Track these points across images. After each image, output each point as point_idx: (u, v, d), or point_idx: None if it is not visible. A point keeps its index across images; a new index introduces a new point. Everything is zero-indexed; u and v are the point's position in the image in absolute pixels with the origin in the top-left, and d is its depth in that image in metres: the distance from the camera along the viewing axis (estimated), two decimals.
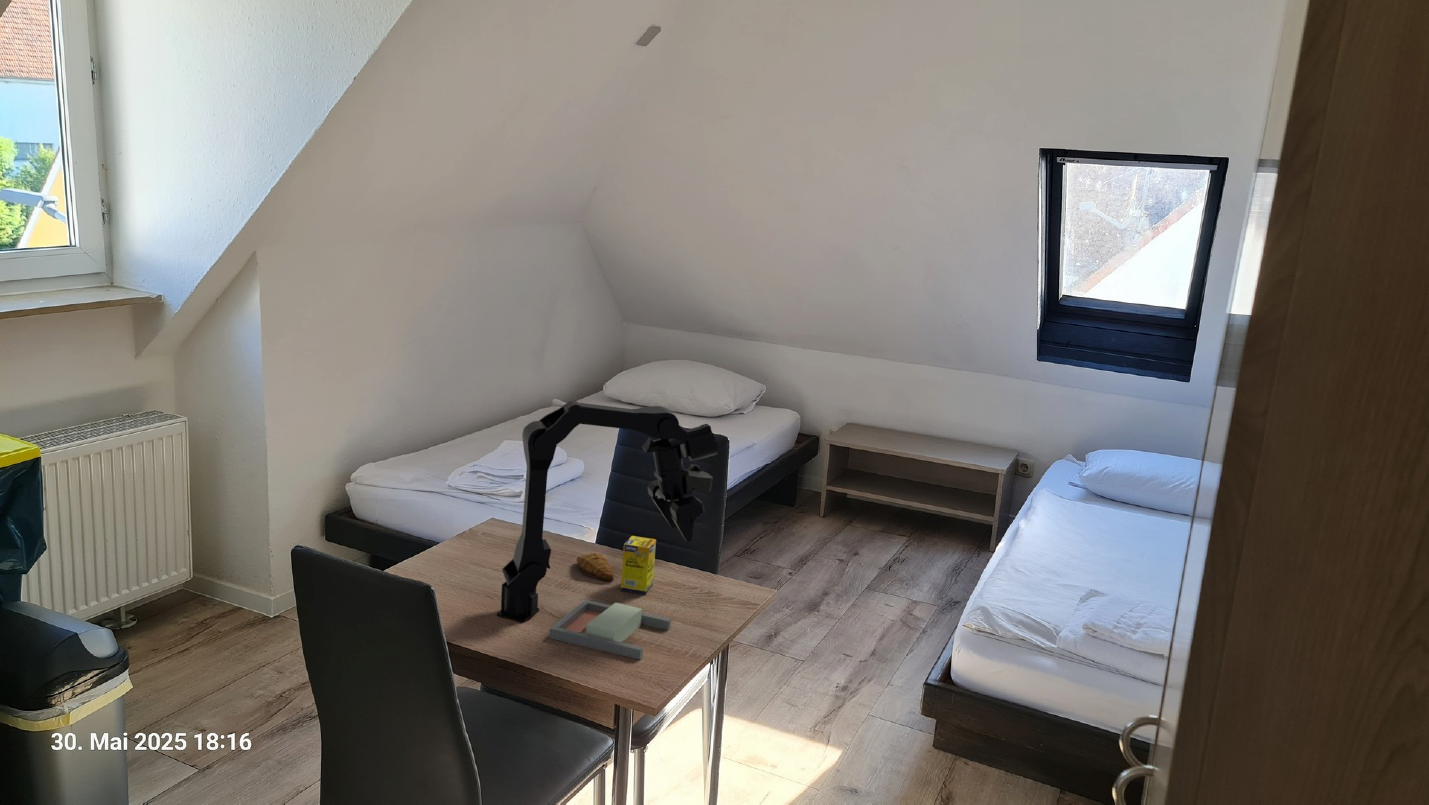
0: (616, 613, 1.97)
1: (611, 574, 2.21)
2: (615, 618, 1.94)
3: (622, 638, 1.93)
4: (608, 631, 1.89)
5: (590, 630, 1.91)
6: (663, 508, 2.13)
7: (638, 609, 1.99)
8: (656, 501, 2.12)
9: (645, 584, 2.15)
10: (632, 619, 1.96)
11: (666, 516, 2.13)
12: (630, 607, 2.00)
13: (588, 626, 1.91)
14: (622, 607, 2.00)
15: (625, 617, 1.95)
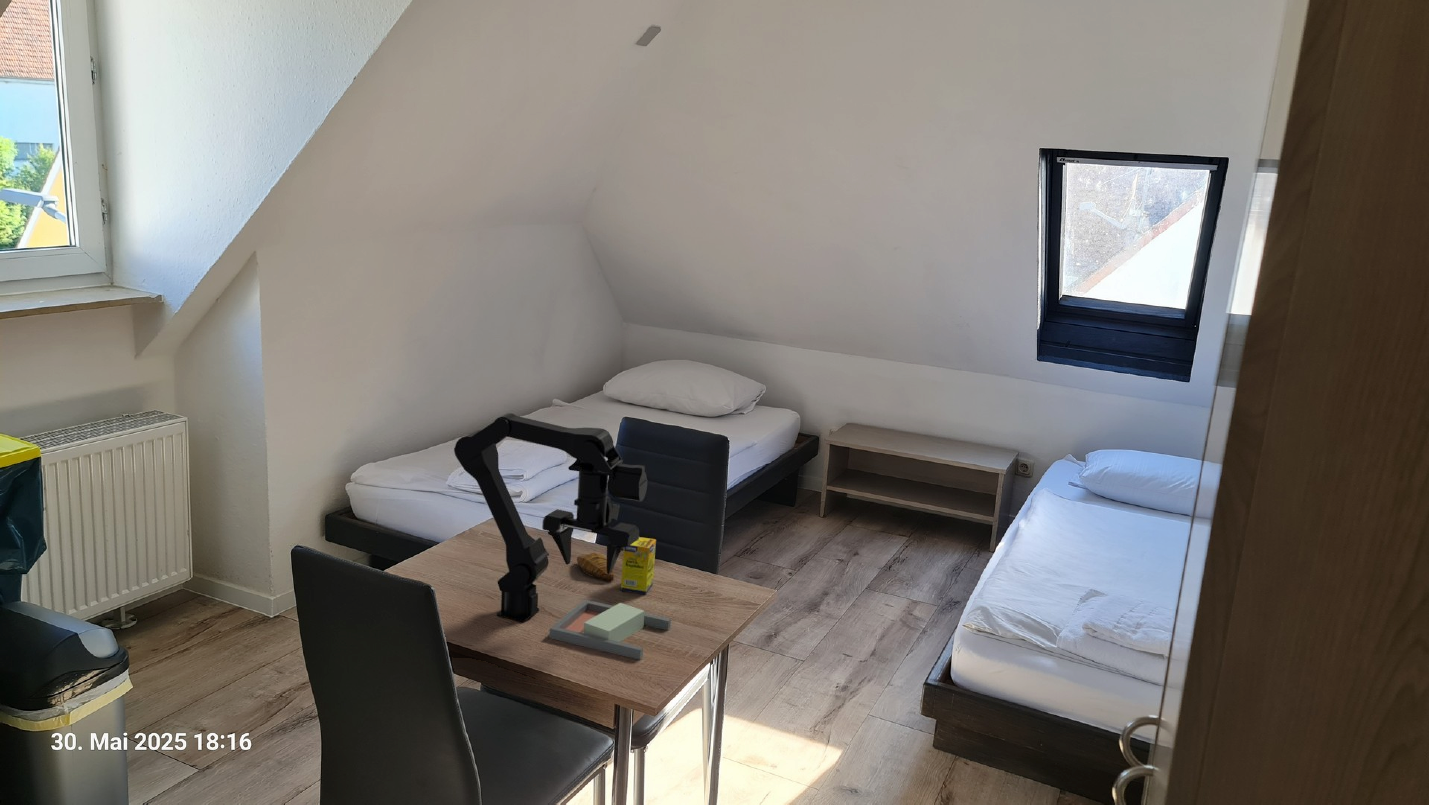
0: (617, 614, 1.97)
1: (611, 574, 2.21)
2: (614, 618, 1.94)
3: (619, 638, 1.93)
4: (603, 631, 1.89)
5: (587, 629, 1.91)
6: (564, 543, 1.95)
7: (640, 611, 1.99)
8: (560, 535, 1.94)
9: (645, 584, 2.15)
10: (632, 620, 1.95)
11: (565, 552, 1.96)
12: (634, 608, 2.00)
13: (585, 624, 1.91)
14: (625, 608, 1.99)
15: (625, 618, 1.95)
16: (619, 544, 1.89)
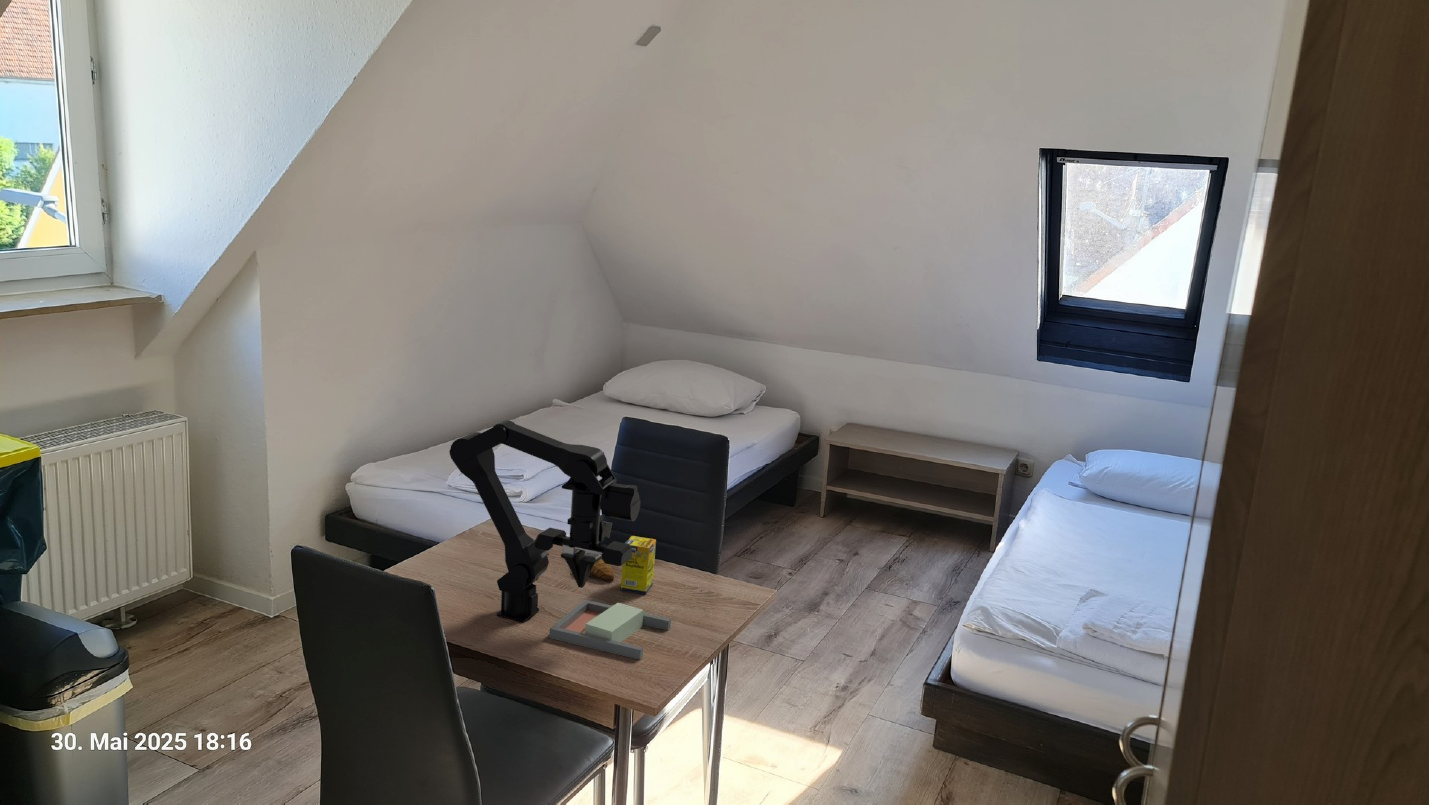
0: (617, 614, 1.97)
1: (611, 574, 2.21)
2: (615, 618, 1.94)
3: (621, 638, 1.93)
4: (606, 631, 1.89)
5: (588, 630, 1.91)
6: (577, 566, 1.94)
7: (639, 610, 1.99)
8: (573, 558, 1.93)
9: (645, 584, 2.15)
10: (632, 620, 1.96)
11: (578, 574, 1.95)
12: (632, 608, 2.00)
13: (587, 625, 1.91)
14: (624, 608, 1.99)
15: (625, 618, 1.95)
16: (612, 563, 1.90)
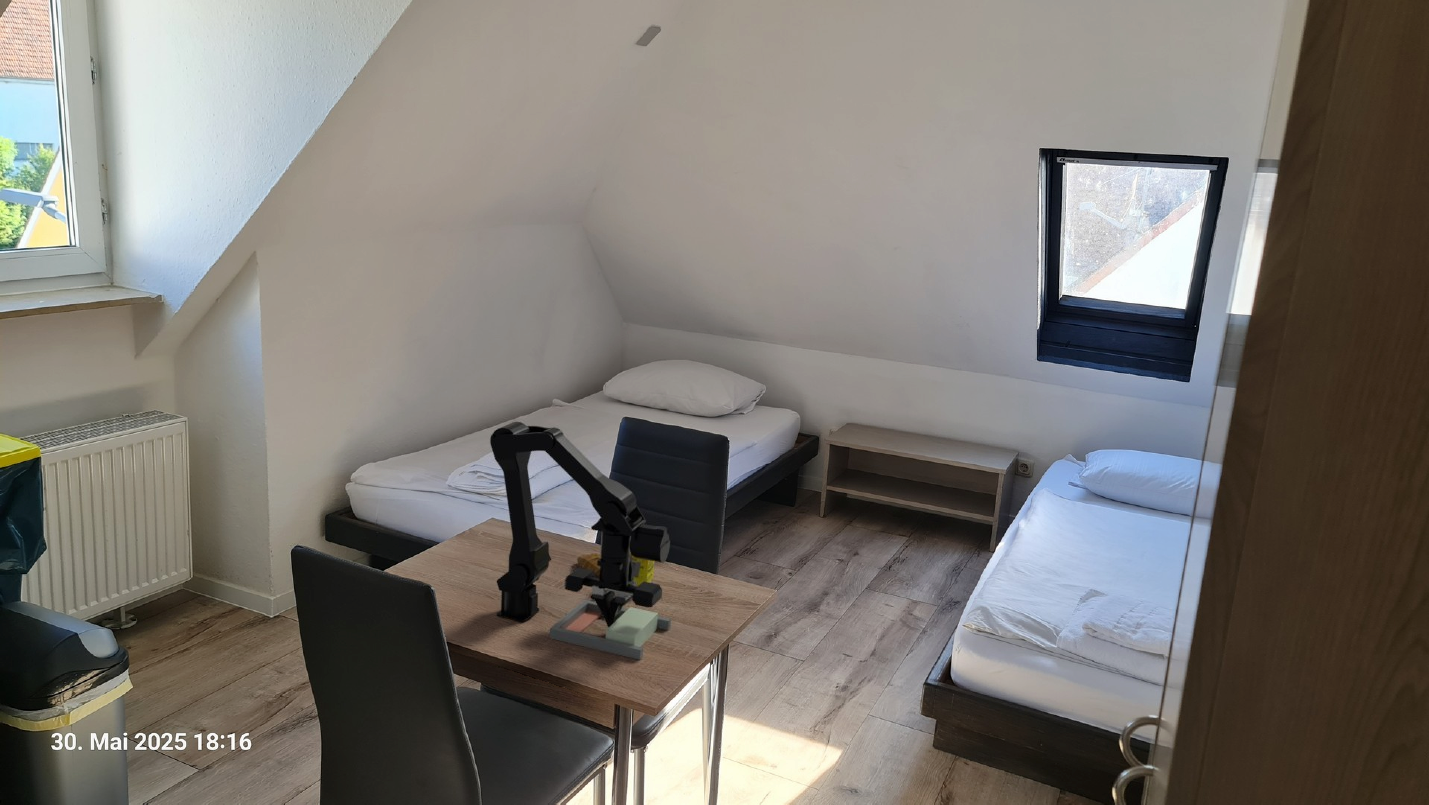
0: (633, 618, 1.95)
1: None
2: (633, 623, 1.93)
3: (641, 643, 1.92)
4: (628, 637, 1.88)
5: (609, 636, 1.89)
6: (607, 607, 1.94)
7: (654, 613, 1.98)
8: (603, 600, 1.92)
9: None
10: (650, 624, 1.95)
11: (608, 615, 1.94)
12: (646, 611, 1.99)
13: (607, 632, 1.89)
14: (638, 612, 1.98)
15: (643, 622, 1.94)
16: (643, 604, 1.89)
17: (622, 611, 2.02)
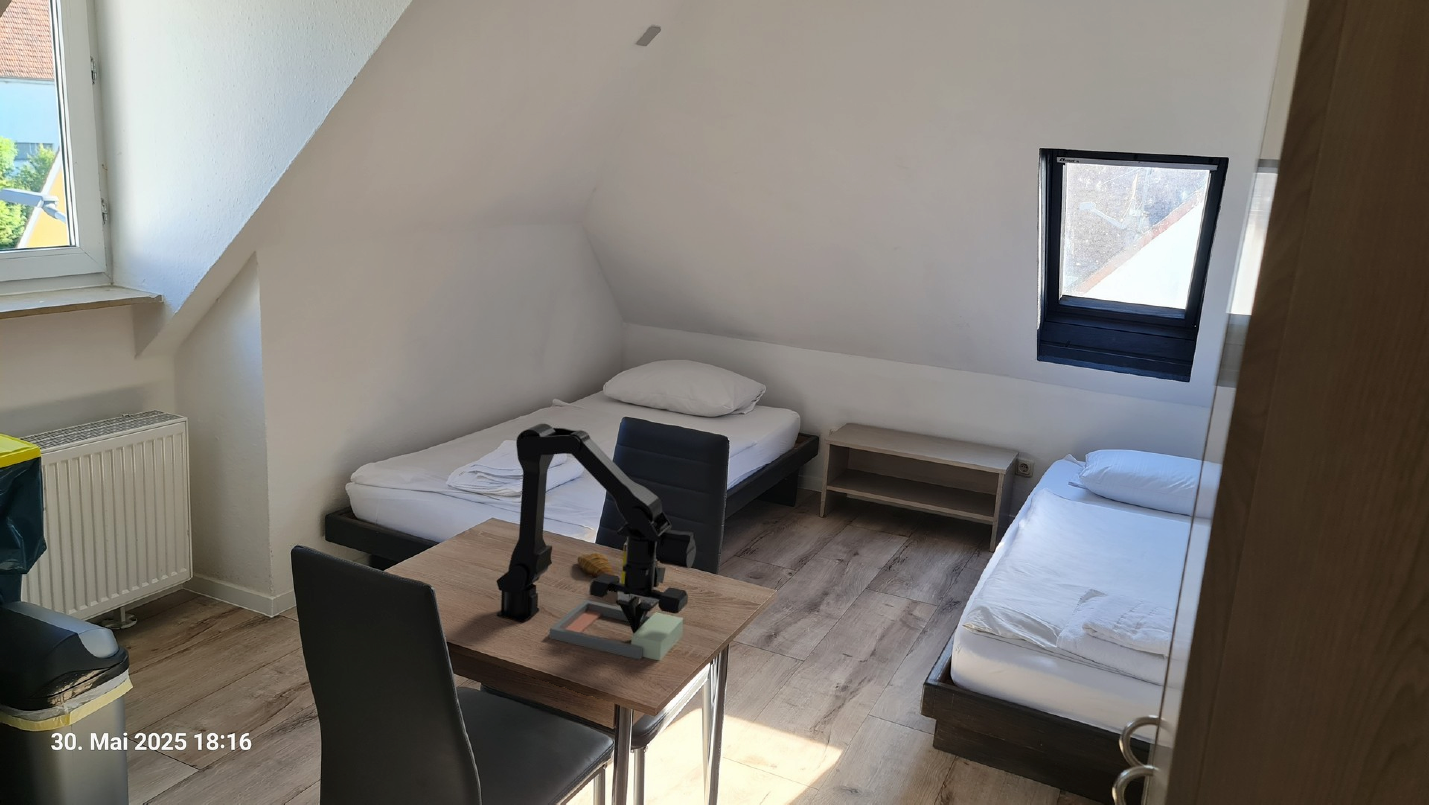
0: (659, 624, 1.94)
1: (612, 574, 2.21)
2: (659, 629, 1.91)
3: (667, 649, 1.90)
4: (654, 642, 1.86)
5: (635, 642, 1.88)
6: (632, 612, 1.92)
7: (680, 618, 1.97)
8: (629, 605, 1.91)
9: None
10: (675, 629, 1.93)
11: (633, 621, 1.93)
12: (672, 617, 1.97)
13: (633, 637, 1.88)
14: (663, 617, 1.97)
15: (669, 627, 1.92)
16: (669, 610, 1.87)
17: (622, 611, 2.02)
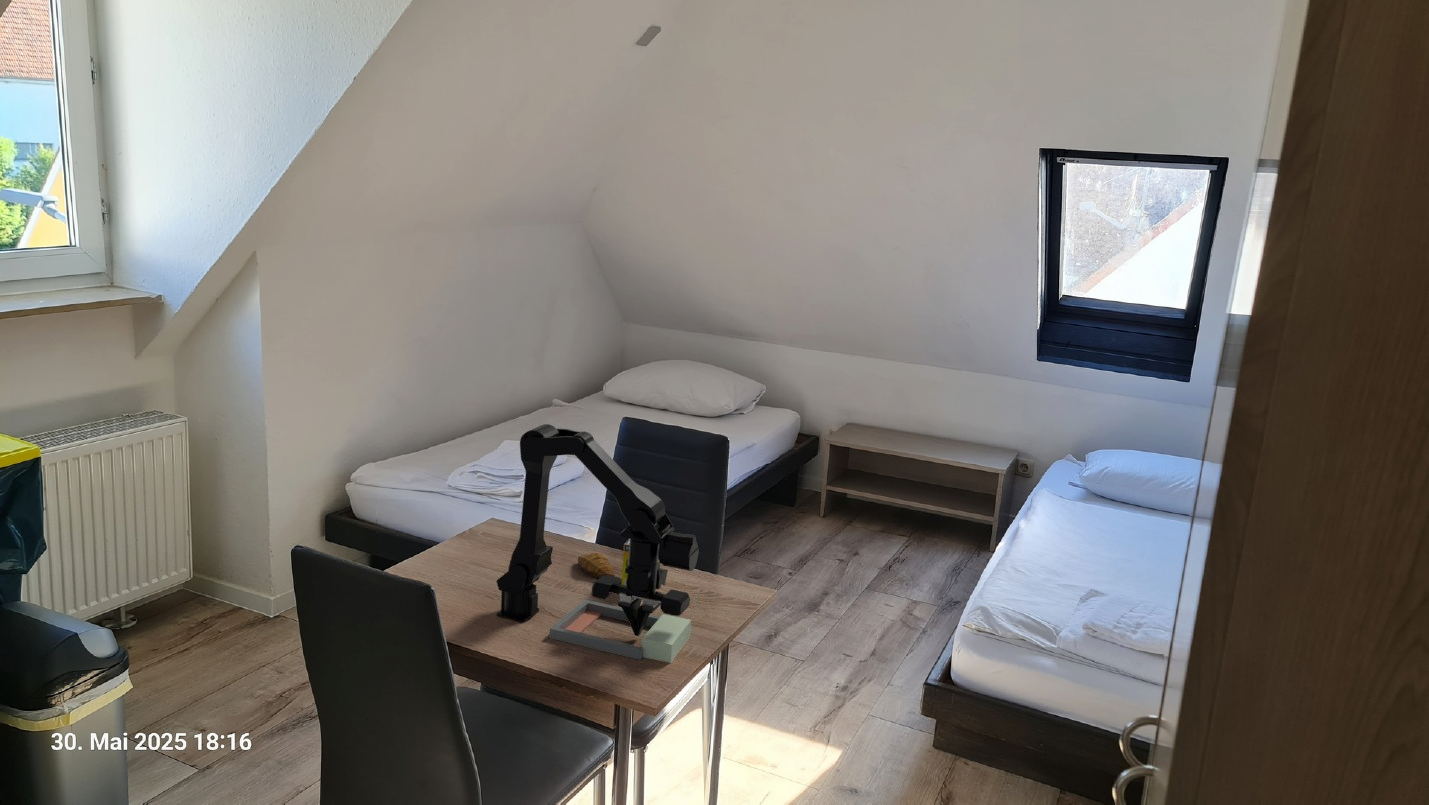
0: (668, 626, 1.93)
1: (612, 574, 2.21)
2: (668, 631, 1.91)
3: (677, 651, 1.90)
4: (665, 645, 1.86)
5: (645, 644, 1.87)
6: (634, 614, 1.92)
7: (688, 620, 1.96)
8: (630, 607, 1.91)
9: None
10: (684, 631, 1.93)
11: (635, 623, 1.93)
12: (679, 618, 1.97)
13: (644, 640, 1.87)
14: (671, 619, 1.96)
15: (678, 629, 1.92)
16: (671, 613, 1.87)
17: (622, 611, 2.02)
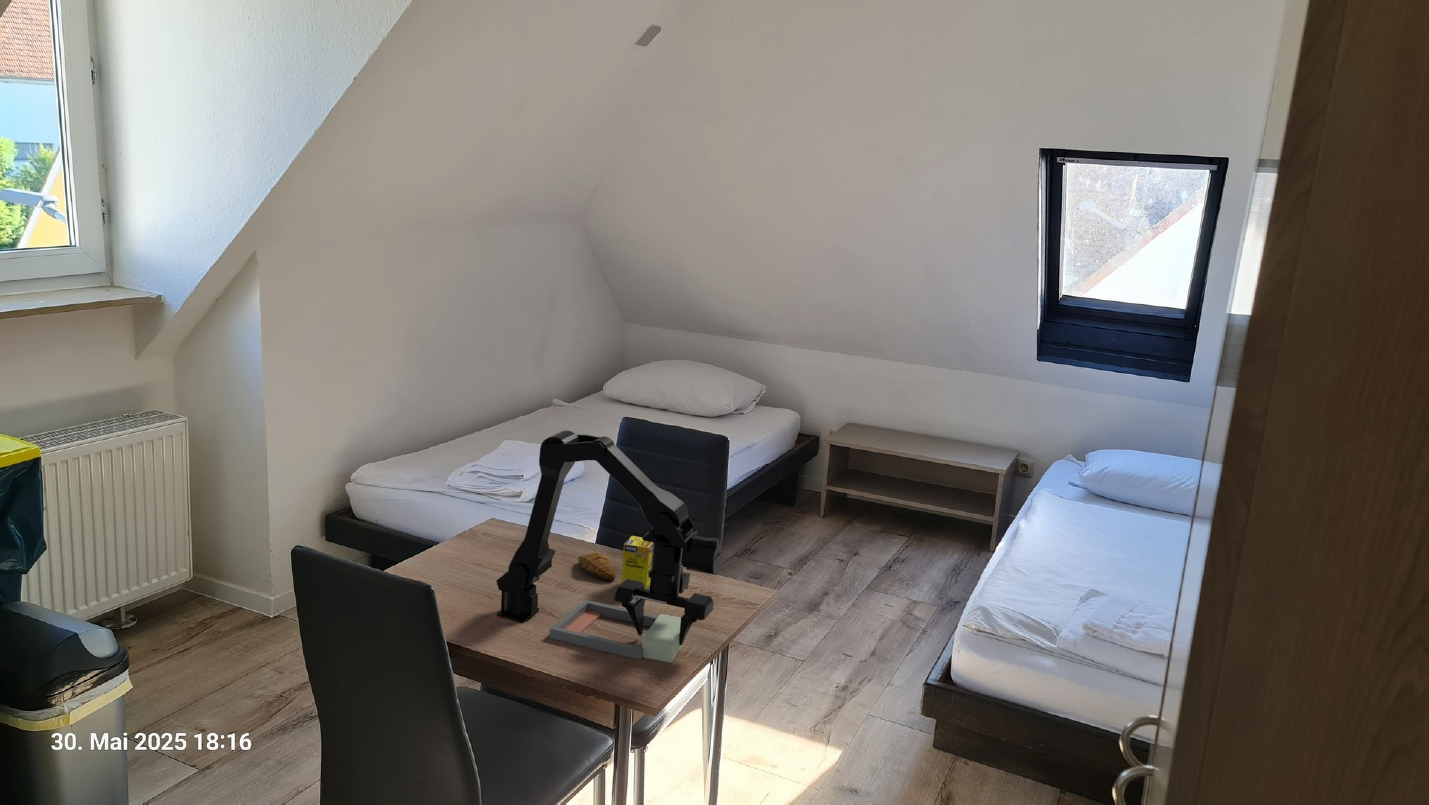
0: (666, 625, 1.93)
1: (613, 574, 2.21)
2: (667, 630, 1.91)
3: (677, 650, 1.90)
4: (665, 644, 1.86)
5: (645, 645, 1.87)
6: (637, 614, 1.92)
7: None
8: (634, 607, 1.90)
9: (645, 584, 2.15)
10: None
11: (639, 623, 1.92)
12: (677, 618, 1.97)
13: (644, 640, 1.87)
14: (669, 618, 1.96)
15: (677, 629, 1.92)
16: (695, 617, 1.86)
17: (622, 611, 2.02)
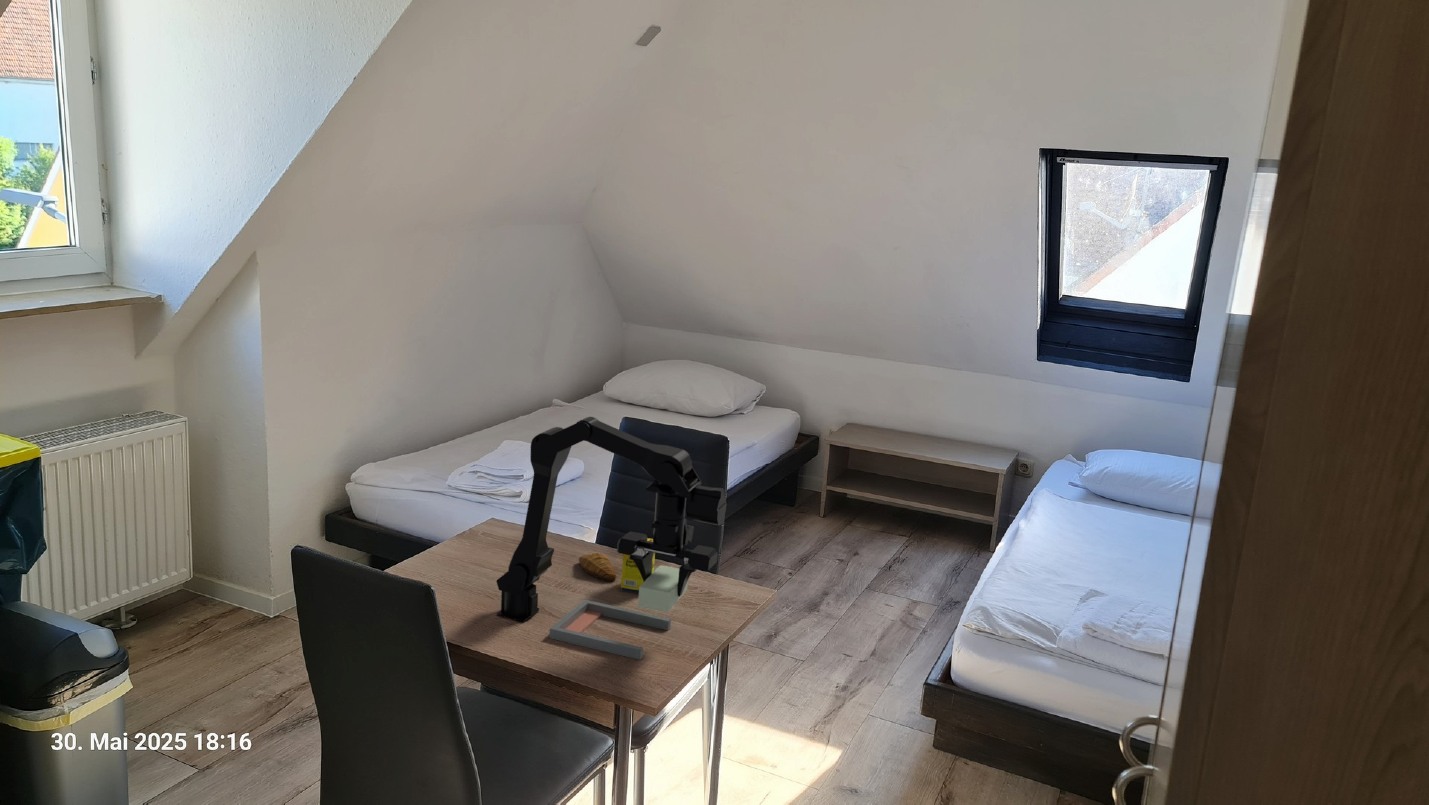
0: (665, 575, 1.91)
1: (613, 574, 2.21)
2: (665, 580, 1.89)
3: (674, 600, 1.88)
4: (662, 593, 1.84)
5: (642, 593, 1.85)
6: (646, 567, 1.89)
7: None
8: (642, 560, 1.88)
9: None
10: None
11: (647, 576, 1.90)
12: (677, 569, 1.95)
13: (641, 588, 1.85)
14: (669, 569, 1.94)
15: (676, 579, 1.90)
16: (699, 568, 1.84)
17: (622, 611, 2.02)
